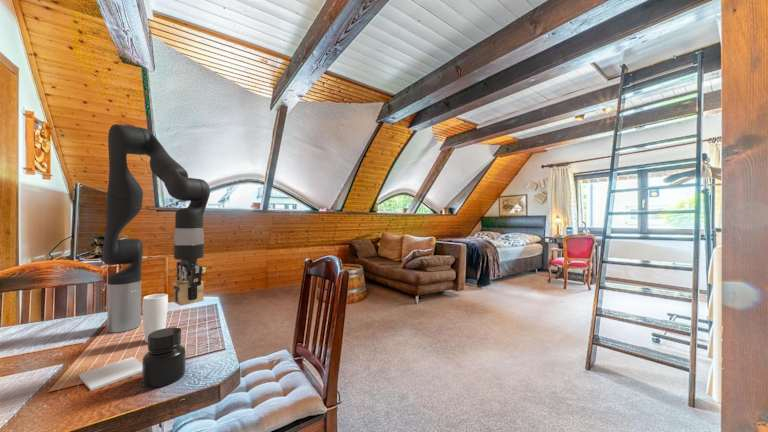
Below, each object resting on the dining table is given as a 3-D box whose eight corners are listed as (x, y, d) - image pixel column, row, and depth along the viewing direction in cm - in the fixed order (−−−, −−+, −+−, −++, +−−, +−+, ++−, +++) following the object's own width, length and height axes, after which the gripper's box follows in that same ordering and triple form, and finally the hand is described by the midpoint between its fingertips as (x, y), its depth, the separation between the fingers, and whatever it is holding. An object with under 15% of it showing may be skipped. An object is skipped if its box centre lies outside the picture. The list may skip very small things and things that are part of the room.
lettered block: (172, 301, 85) (172, 282, 85) (197, 297, 90) (197, 278, 90) (179, 306, 82) (179, 285, 82) (204, 300, 87) (204, 281, 87)
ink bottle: (181, 365, 80) (182, 322, 80) (191, 376, 74) (192, 331, 74) (136, 380, 72) (136, 333, 72) (144, 394, 66) (144, 343, 66)
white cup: (153, 345, 91) (153, 299, 91) (136, 343, 92) (136, 298, 92) (172, 337, 97) (173, 294, 98) (156, 335, 99) (157, 292, 99)
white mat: (78, 376, 73) (78, 374, 73) (132, 358, 83) (132, 356, 83) (90, 391, 67) (90, 388, 67) (147, 370, 77) (147, 367, 77)
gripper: (166, 242, 87) (166, 295, 87) (183, 245, 79) (182, 305, 79) (194, 240, 93) (193, 290, 93) (212, 243, 85) (211, 299, 85)
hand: (188, 297), depth 86 cm, fingers closed on lettered block, 6 cm apart
